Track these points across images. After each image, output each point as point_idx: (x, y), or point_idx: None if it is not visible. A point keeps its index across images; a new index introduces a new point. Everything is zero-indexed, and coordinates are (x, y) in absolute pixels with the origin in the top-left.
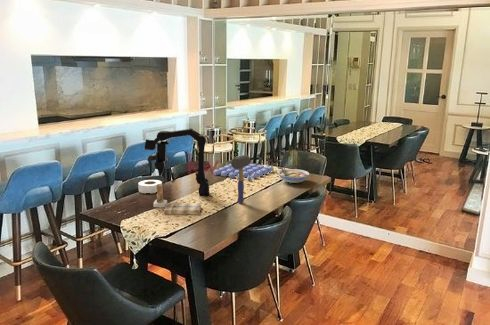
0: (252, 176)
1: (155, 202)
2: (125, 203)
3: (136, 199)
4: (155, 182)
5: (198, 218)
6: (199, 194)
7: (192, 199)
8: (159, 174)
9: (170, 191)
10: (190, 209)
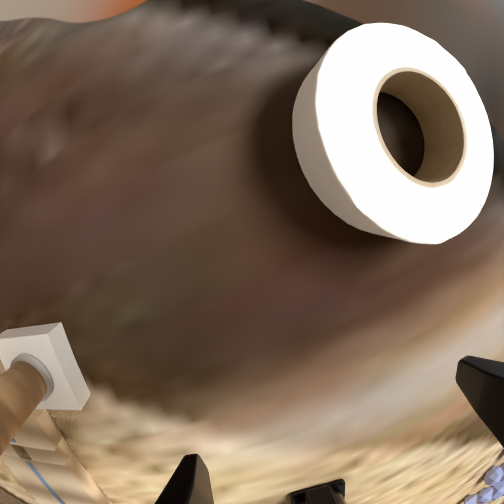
0: (480, 497)
1: (9, 348)
2: (29, 98)
3: (114, 120)
4: (452, 171)
5: (29, 499)
6: (301, 494)
7: (220, 487)
8: (174, 485)
9: (375, 317)
10: (38, 499)
